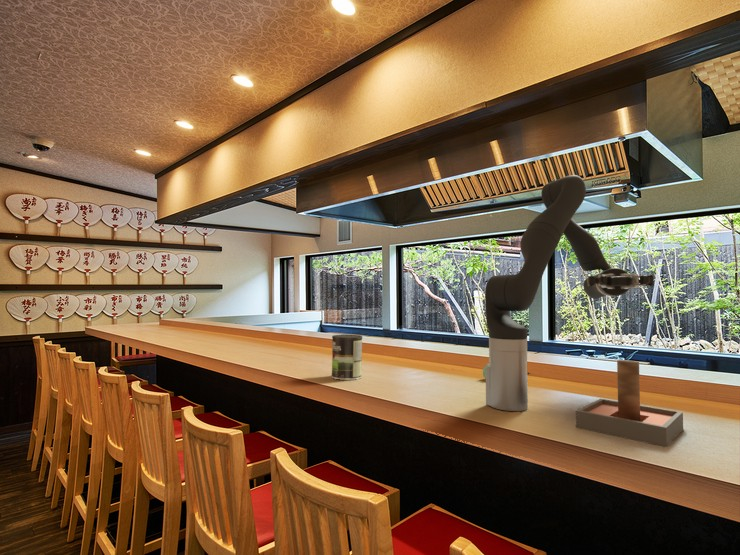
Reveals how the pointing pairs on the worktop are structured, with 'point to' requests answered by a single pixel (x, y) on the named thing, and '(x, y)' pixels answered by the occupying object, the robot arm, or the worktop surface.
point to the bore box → (631, 422)
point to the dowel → (628, 390)
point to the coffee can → (346, 357)
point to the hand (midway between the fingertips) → (624, 279)
